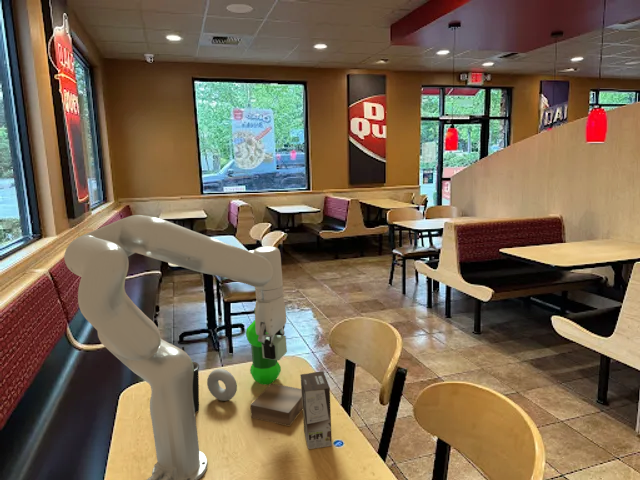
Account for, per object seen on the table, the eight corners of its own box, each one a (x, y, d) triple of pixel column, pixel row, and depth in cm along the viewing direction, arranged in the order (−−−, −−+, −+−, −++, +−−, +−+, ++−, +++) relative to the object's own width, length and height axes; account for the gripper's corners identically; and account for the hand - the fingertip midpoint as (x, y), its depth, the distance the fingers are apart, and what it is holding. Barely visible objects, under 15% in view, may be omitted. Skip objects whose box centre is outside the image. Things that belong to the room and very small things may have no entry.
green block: (262, 358, 123) (261, 341, 122) (271, 349, 128) (269, 333, 127) (278, 360, 121) (277, 343, 120) (286, 352, 126) (285, 335, 125)
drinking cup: (176, 406, 132) (168, 344, 128) (202, 400, 135) (196, 339, 130) (176, 420, 125) (168, 355, 121) (204, 414, 128) (197, 350, 123)
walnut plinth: (289, 426, 121) (288, 413, 120) (251, 417, 125) (250, 404, 124) (307, 402, 131) (307, 390, 131) (272, 395, 136) (271, 383, 135)
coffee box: (332, 446, 112) (330, 388, 108) (307, 450, 111) (304, 391, 108) (326, 424, 121) (324, 370, 117) (303, 427, 120) (299, 373, 116)
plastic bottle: (285, 373, 149) (281, 303, 143) (275, 390, 139) (270, 315, 133) (257, 371, 151) (252, 301, 146) (245, 387, 141) (239, 313, 136)
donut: (240, 399, 134) (237, 369, 132) (234, 405, 131) (231, 375, 129) (213, 393, 138) (210, 364, 136) (206, 399, 135) (203, 369, 133)
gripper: (272, 281, 129) (276, 338, 134) (241, 302, 114) (247, 366, 118) (295, 283, 127) (299, 341, 131) (266, 304, 111) (272, 370, 115)
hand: (274, 352), depth 124 cm, fingers closed on green block, 5 cm apart
